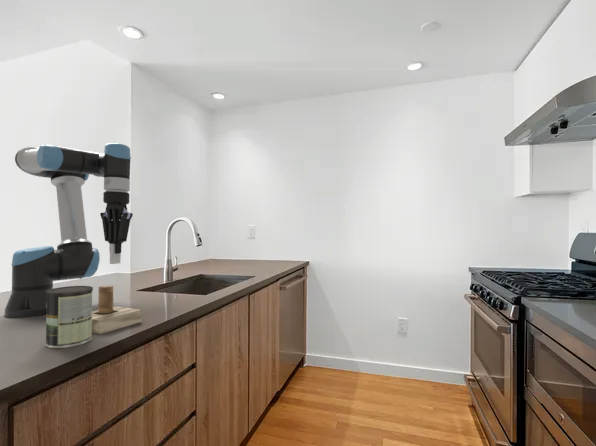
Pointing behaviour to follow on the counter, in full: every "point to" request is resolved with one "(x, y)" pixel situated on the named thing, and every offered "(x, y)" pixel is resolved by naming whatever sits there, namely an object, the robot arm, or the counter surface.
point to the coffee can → (68, 316)
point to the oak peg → (105, 300)
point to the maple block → (115, 319)
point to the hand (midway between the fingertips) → (115, 263)
